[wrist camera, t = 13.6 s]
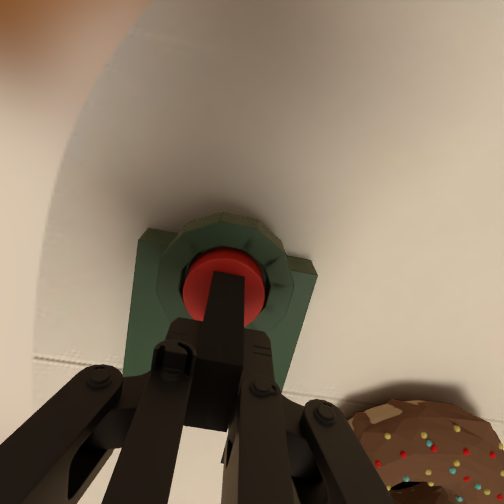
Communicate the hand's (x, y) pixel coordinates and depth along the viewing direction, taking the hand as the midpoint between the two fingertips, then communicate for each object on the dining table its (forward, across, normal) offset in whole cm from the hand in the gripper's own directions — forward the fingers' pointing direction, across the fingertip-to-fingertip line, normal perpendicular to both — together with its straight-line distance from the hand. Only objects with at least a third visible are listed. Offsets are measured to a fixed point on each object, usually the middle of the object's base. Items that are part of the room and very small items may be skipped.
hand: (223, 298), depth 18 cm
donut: (+5, +16, -13) cm, 21 cm away
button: (+2, 0, 0) cm, 2 cm away
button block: (+5, 0, -4) cm, 6 cm away
